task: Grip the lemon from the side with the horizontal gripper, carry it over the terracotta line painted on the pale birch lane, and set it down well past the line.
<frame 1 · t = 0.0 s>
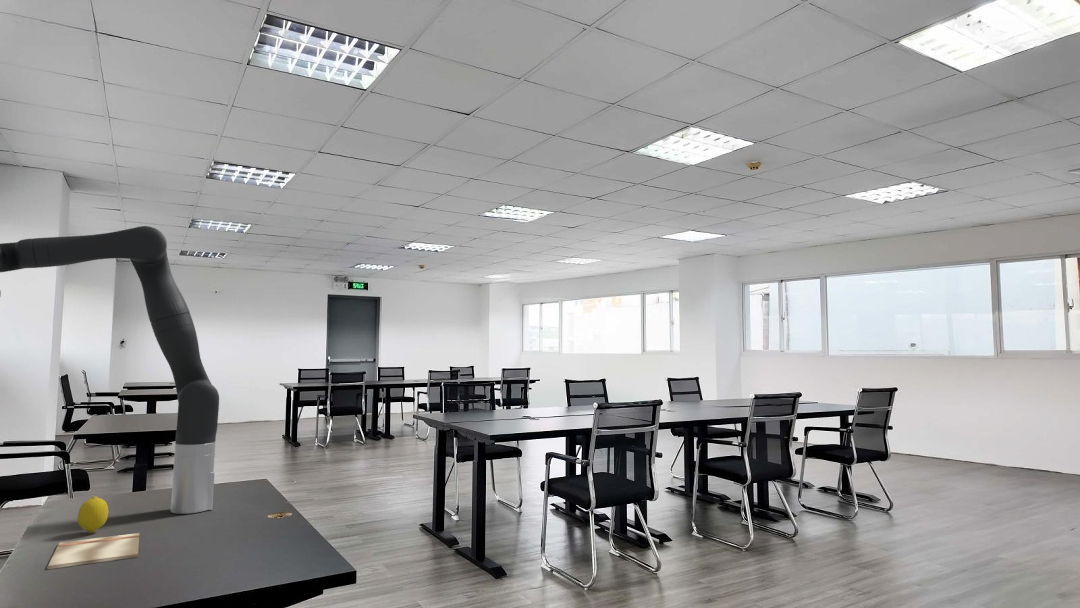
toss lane: (97, 550, 123), on the table
lemon: (91, 533, 135), on the table
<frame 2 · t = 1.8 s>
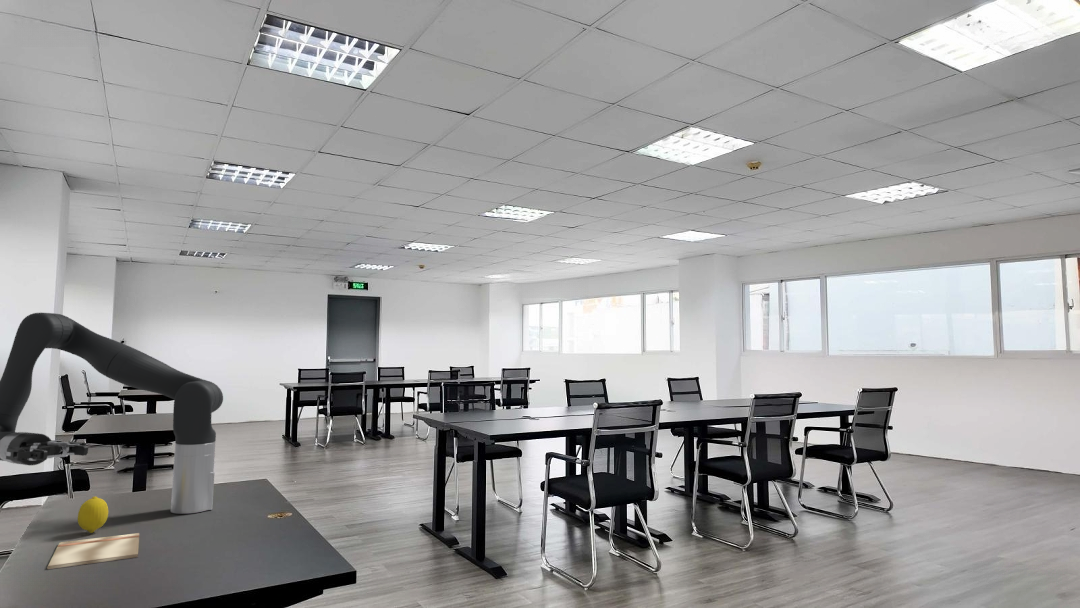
hand: (66, 453, 141), 17 cm above the table, tool horizontal, fingers open, 8 cm apart
nothing on the table moved.
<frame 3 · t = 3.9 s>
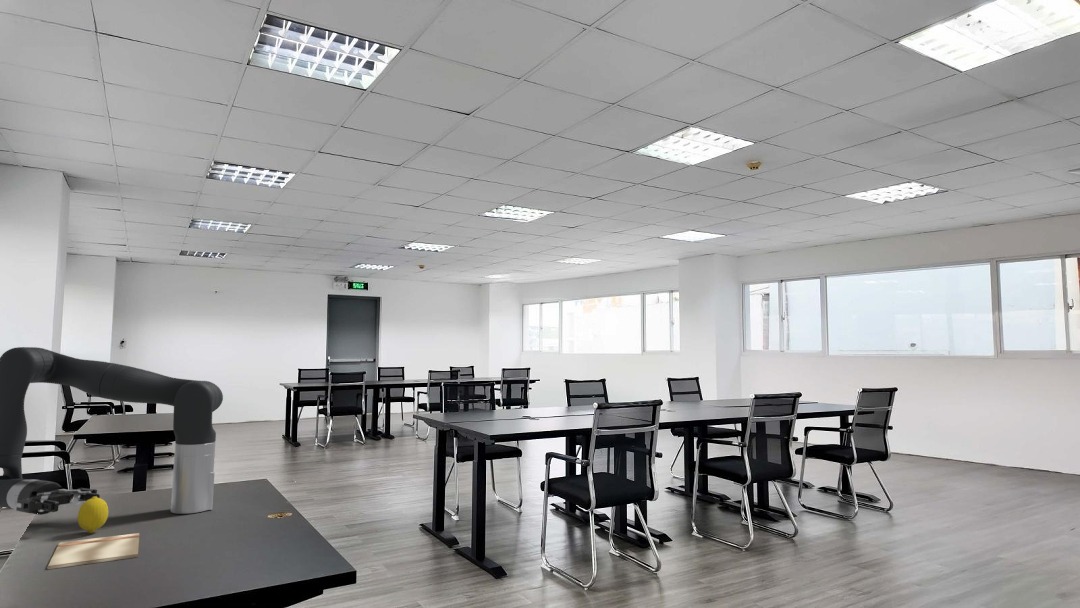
hand: (77, 502, 138), 6 cm above the table, tool horizontal, fingers open, 8 cm apart
nothing on the table moved.
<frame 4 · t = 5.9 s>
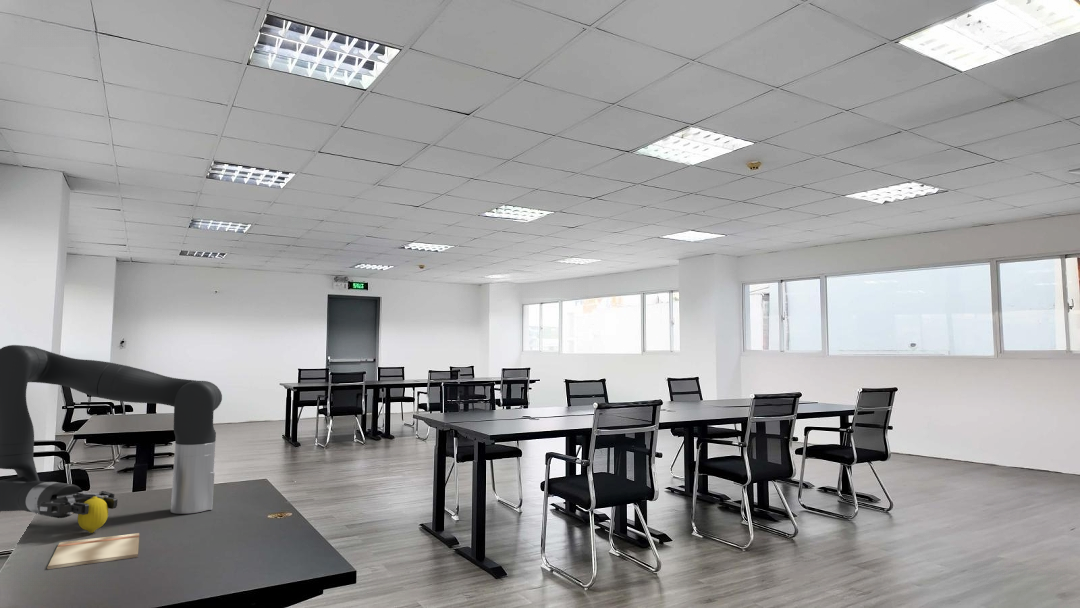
hand: (101, 506, 135), 6 cm above the table, tool horizontal, fingers closed on lemon, 5 cm apart
lemon: (91, 533, 135), on the table, touching gripper
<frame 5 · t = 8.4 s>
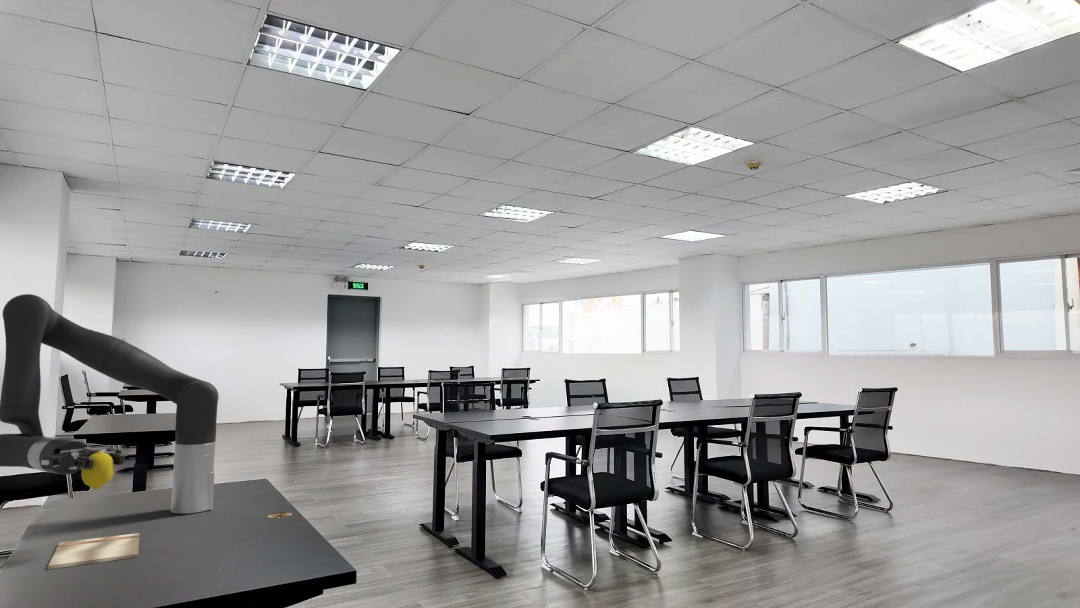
hand: (106, 461, 125), 18 cm above the table, tool horizontal, fingers closed on lemon, 5 cm apart
lemon: (96, 491, 125), point 12 cm above the table, touching gripper
when the fingers open (8 cm above the table, at t = 11.1 s): lemon drops 1 cm, resting on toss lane.
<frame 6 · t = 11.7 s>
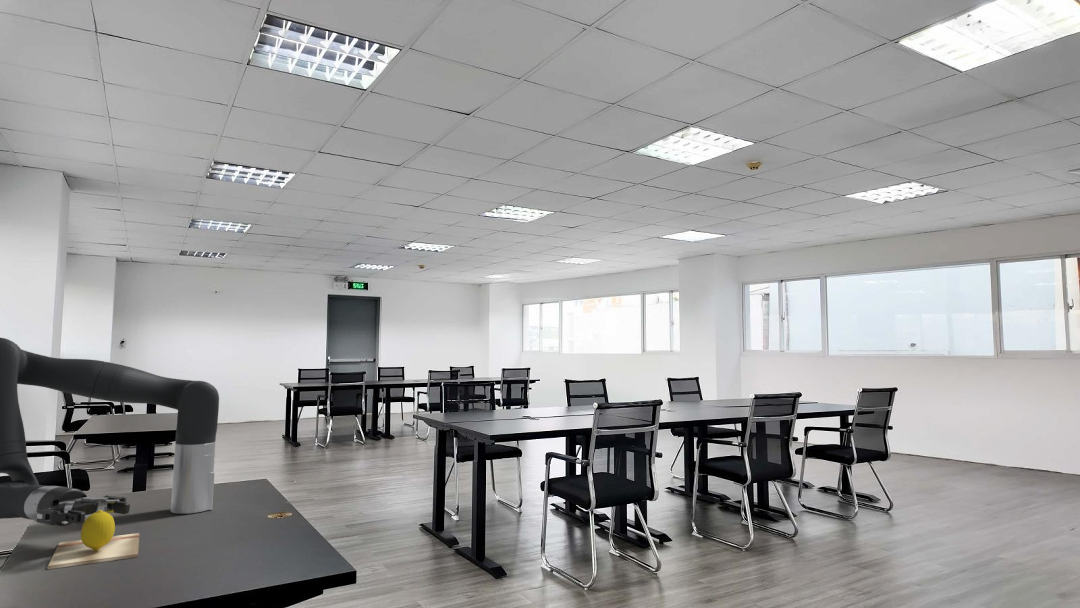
hand: (106, 513, 121), 8 cm above the table, tool horizontal, fingers open, 8 cm apart
lemon: (96, 552, 121), resting on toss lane
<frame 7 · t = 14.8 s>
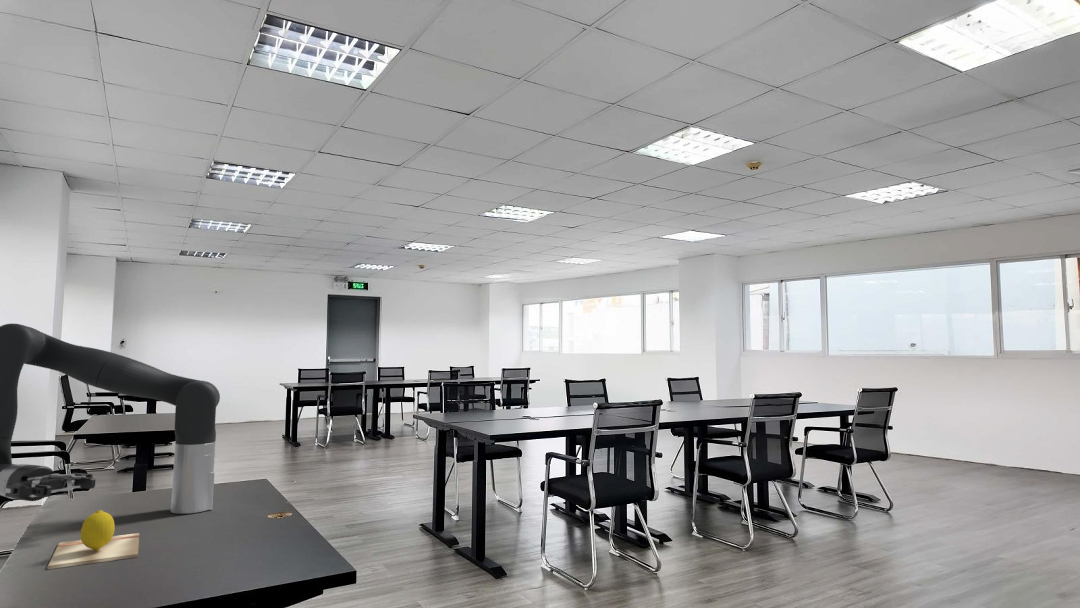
hand: (71, 487, 128), 12 cm above the table, tool horizontal, fingers open, 8 cm apart
nothing on the table moved.
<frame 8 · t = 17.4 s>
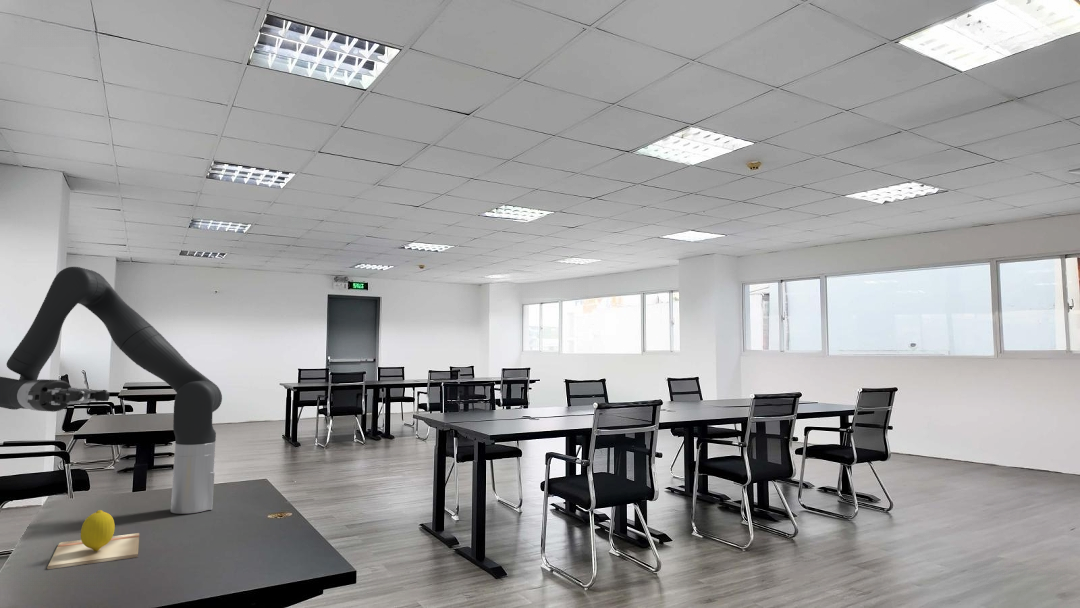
hand: (88, 397, 139), 30 cm above the table, tool horizontal, fingers open, 8 cm apart
nothing on the table moved.
at the end: lemon inside the target area (0.6 cm from its centre), resting on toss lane; the gripper is holding nothing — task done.
